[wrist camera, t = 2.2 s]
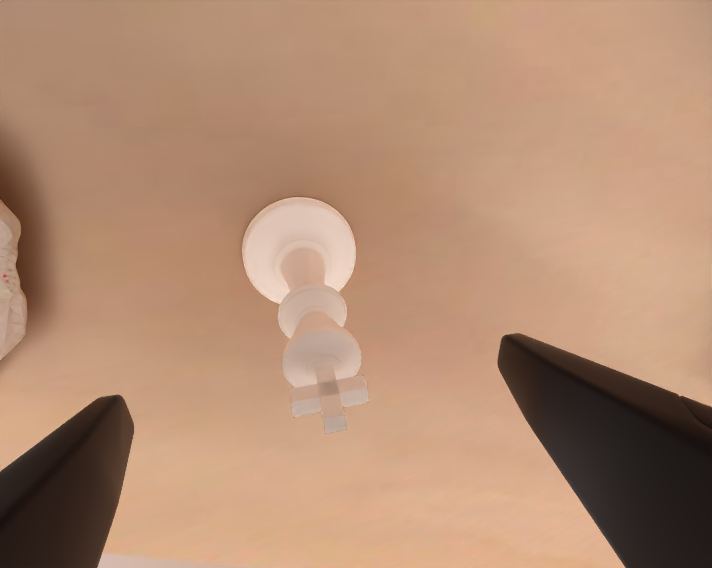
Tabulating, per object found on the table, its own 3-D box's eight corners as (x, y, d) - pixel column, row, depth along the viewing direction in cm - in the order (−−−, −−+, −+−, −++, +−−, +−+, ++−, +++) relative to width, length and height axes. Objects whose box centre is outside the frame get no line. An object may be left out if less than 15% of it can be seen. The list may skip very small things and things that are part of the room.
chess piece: (231, 203, 15) (172, 345, 6) (351, 190, 16) (455, 300, 7) (253, 309, 17) (234, 527, 8) (357, 293, 18) (443, 477, 9)
